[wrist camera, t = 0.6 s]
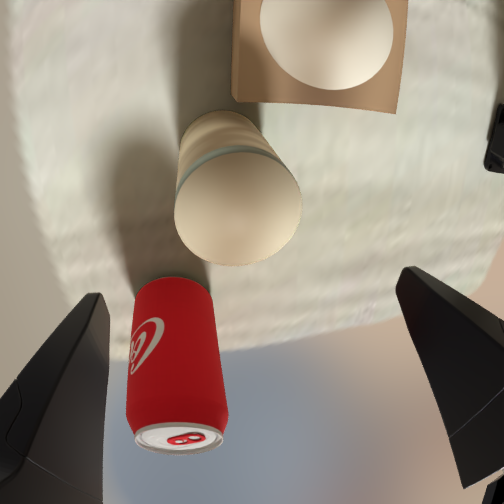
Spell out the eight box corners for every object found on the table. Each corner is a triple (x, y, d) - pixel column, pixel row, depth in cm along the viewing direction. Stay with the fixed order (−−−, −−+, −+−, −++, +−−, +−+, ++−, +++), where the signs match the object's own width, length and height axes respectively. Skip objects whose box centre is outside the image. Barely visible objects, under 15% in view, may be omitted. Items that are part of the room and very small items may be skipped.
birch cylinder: (264, 109, 18) (309, 152, 11) (260, 185, 21) (295, 261, 14) (177, 112, 17) (168, 156, 10) (181, 189, 20) (179, 270, 13)
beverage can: (120, 288, 24) (102, 433, 14) (188, 257, 23) (198, 413, 13) (162, 333, 27) (166, 462, 18) (225, 309, 27) (248, 444, 17)
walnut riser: (381, -22, 13) (409, -27, 10) (370, 103, 18) (396, 114, 16) (235, -48, 11) (244, -64, 9) (230, 93, 17) (237, 102, 14)
